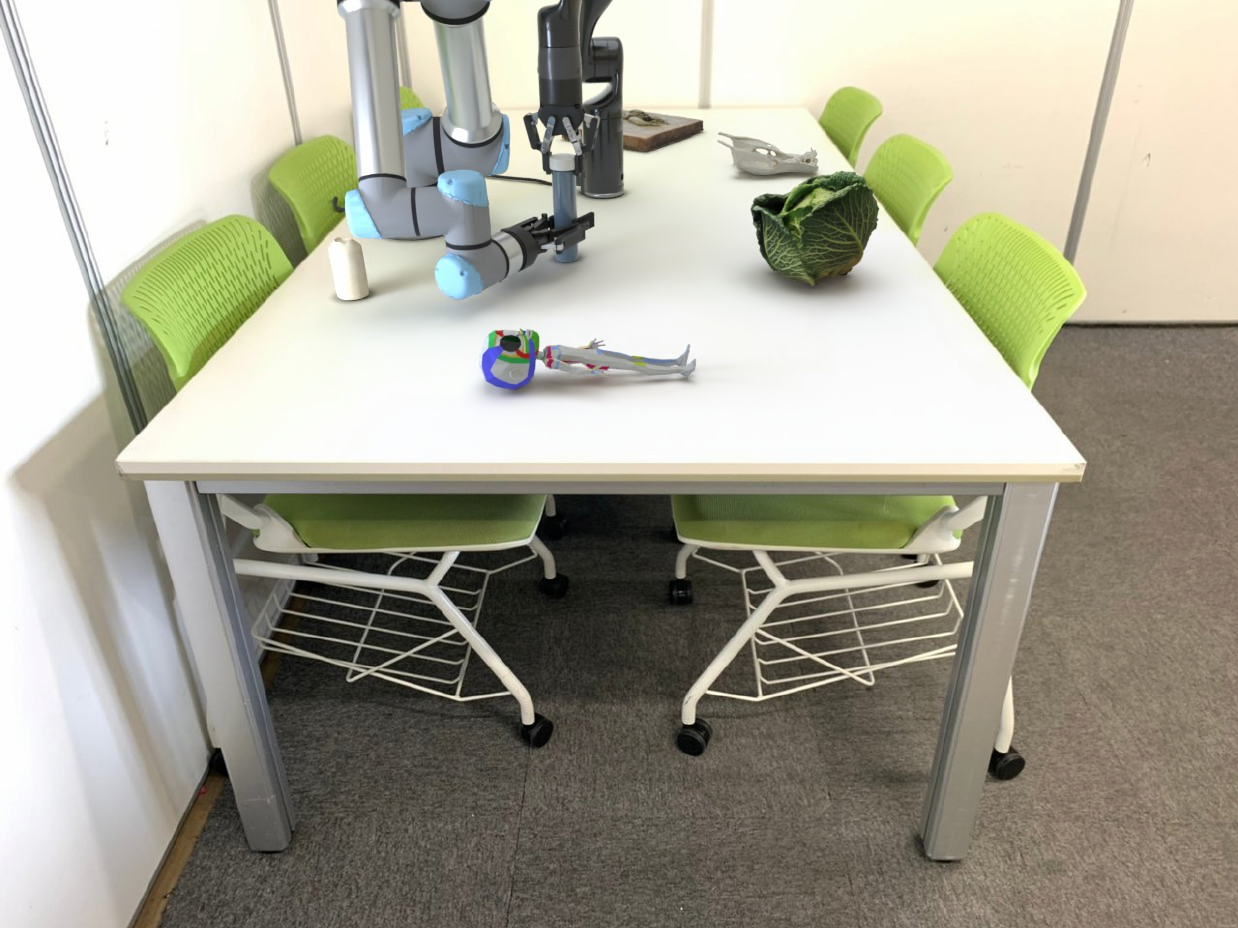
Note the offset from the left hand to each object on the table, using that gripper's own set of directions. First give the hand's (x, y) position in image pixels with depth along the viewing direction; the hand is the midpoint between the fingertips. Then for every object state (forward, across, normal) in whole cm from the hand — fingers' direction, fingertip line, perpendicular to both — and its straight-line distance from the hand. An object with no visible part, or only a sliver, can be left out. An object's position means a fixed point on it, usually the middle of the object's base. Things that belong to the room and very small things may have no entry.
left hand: (581, 217), depth 172 cm
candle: (-39, -22, -7) cm, 46 cm away
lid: (-5, 0, +12) cm, 13 cm away
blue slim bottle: (-5, 0, -7) cm, 8 cm away
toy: (-46, +31, -6) cm, 56 cm away
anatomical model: (+71, +8, -7) cm, 71 cm away
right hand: (-5, 0, +9) cm, 11 cm away
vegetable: (+8, +44, -6) cm, 45 cm away
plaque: (+91, -41, -7) cm, 100 cm away
